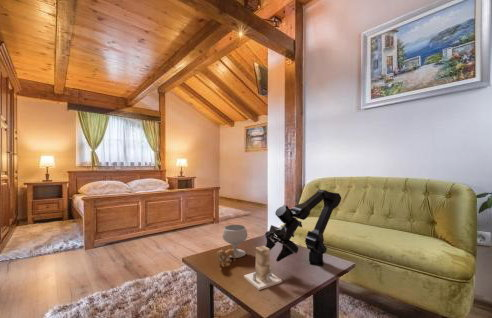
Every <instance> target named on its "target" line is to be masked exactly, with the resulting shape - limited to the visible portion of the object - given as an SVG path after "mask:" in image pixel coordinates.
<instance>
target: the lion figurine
mask: <svg viewBox="0 0 492 318" xmlns="http://www.w3.org/2000/svg"><path fill="white" fill-rule="evenodd" d="M232 249H233V248H228V249H227V250H223V249H220V250H218V251H217V253H216V258H217V261H218V262H219V264H218V267H222V263H223V268H227V265H226V263H227V262H229V261H230V255H231V256H232V257H233V258H232V259H233V260H232V261H233V262H236V259H237V258H235V256H234V251H233V250H232Z"/></svg>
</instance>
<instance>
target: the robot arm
mask: <svg viewBox="0 0 492 318" xmlns="http://www.w3.org/2000/svg"><path fill="white" fill-rule="evenodd" d="M322 201H323V207H322V210H321V212H320V214H319V217H318V219H317V221H316V223H315V226H314V228H313V230H308V231H307V235H306V236H304V237H305V240H304V243H305V246H306V249H308V250H310V251H309V252H308V262H309V264H310V265H316V266H322V267H323V266H324V255H325V253H326V252H327V250H328V248H327V246H326V245H325V244H324V242H325V240H324V238H325V237H324V232H325V231H326V229H327V228H326V227H327V225H328V223H329V220H330V219H331V216H332V213H333V211H334V210H335V209H336V208H338V206H339V205H340V203H341V201H342V196H341V194H340V193H338V192H334V191H333V192H332V191H328V190H327V189H326V190H324V189H318V190H317V191H316V192H315V193H314V194H313V195H312V196H310V197H309V198H308V199H306V200H305V201H304V202H302V203H298V204H296V205H295V206H293V207H292V208H289V206H288V205H287V204H283V205H282V206H280V207H278V208H277V209H276V211H274V213H275V216H276V217H277V218H278V220H280V221H281V222H282V224H284V225H283V226H282V225H280V226H279V227H277V226H275V225H272V224H271V225H270V227H269V230H268V231H266V232H265V233H264V236H265V238H266V243H265V247H267V248H269V249H270V251H271V250H272V249H273V248H274V247H275V246H276V243H279V244H281V250H280V252H279V254H278V256H277V258H276V260H275V261H276V262H277V263H279V262H280V261H282V260H283V259H285V258H287V257H290V256H291V255H294V254H297V253H298V252H299V246H298V245H297V244H296V243H295V242H294V241H293V240H291V238H294V237H295V232H296V230H297V229H298V227H299V228H303V224H302V221H304V220H306V219H307V218H308V217H309V216H310V214H311V211H312V210H313V209H314V208H316V206H318V205H319V204H320V203H321V202H322ZM300 220H302V221H300Z"/></svg>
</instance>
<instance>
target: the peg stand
mask: <svg viewBox="0 0 492 318" xmlns="http://www.w3.org/2000/svg"><path fill="white" fill-rule="evenodd" d="M272 269H273V268H272V267H270V274H267V275H266V280H264V281H260V280H259V279H258V278H256V271H254V272H251V273H247V274H244V275H243V278H244V279H245V280H246V281H248V282H249V283H250V284H251V285H252V286H253V287H255V288H256V289H257V290H258V291H260V290H263V289H266V288H270V287H273V286H275V285H278V284H281V283H282V282H283V280H282V279H281V278H280V277H278V276H276V274H274V273H273V270H272Z"/></svg>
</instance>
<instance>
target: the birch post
mask: <svg viewBox="0 0 492 318" xmlns="http://www.w3.org/2000/svg"><path fill="white" fill-rule="evenodd" d="M270 252H271V250H270V249H269V248H267V247H266V245H261V246H257V247H255V272H256V278H258V279H259V280H260V281H264V280H266V275H267V274H270V268H271V266H270V265H271V263H270V262H271V259H270V258H271V257H270V256H271V255H270V254H271V253H270Z"/></svg>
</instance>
